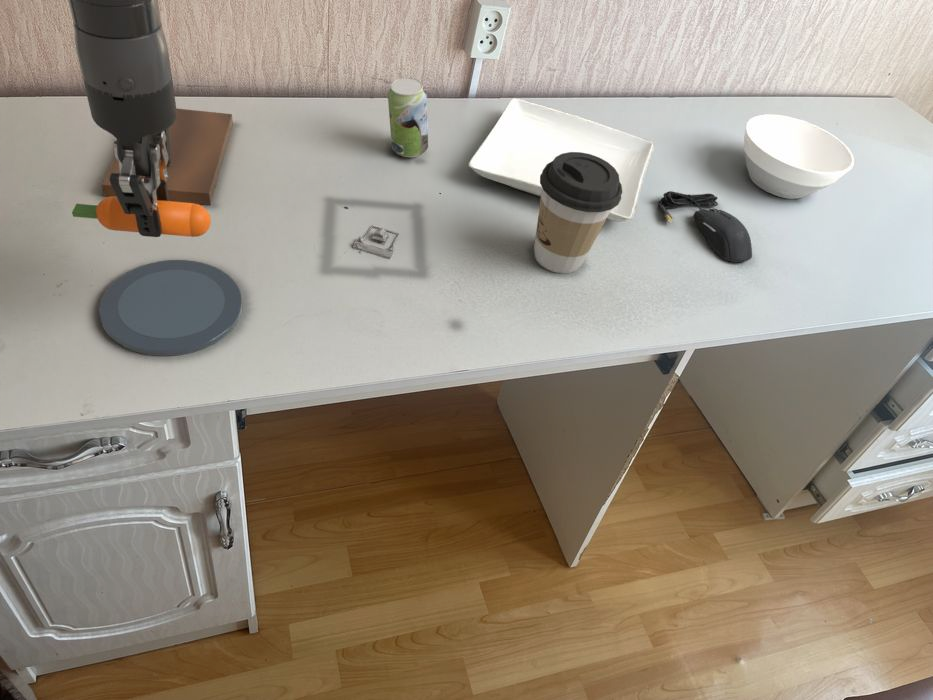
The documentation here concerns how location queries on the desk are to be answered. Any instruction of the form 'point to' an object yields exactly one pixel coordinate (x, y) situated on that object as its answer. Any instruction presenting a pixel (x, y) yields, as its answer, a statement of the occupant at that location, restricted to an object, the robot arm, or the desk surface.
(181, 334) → the slate plate
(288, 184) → the desk surface
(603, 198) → the coffee cup
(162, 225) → the carrot
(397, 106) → the beverage can
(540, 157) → the square plate
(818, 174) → the bowl
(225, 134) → the cutting board
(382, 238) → the metal mounting bracket
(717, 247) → the computer mouse
